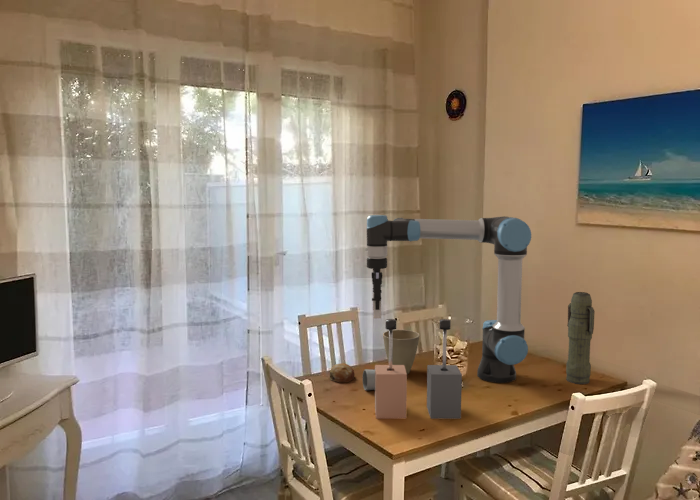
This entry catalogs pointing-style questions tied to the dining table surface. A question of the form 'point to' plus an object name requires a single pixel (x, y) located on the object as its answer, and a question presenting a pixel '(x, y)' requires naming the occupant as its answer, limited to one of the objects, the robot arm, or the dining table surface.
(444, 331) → the charcoal plunger
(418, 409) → the dining table surface
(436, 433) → the dining table surface
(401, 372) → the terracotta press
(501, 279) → the robot arm
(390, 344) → the plunger
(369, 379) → the ceramic mug
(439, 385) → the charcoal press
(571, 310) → the thermos
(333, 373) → the bread roll
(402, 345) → the plant pot
